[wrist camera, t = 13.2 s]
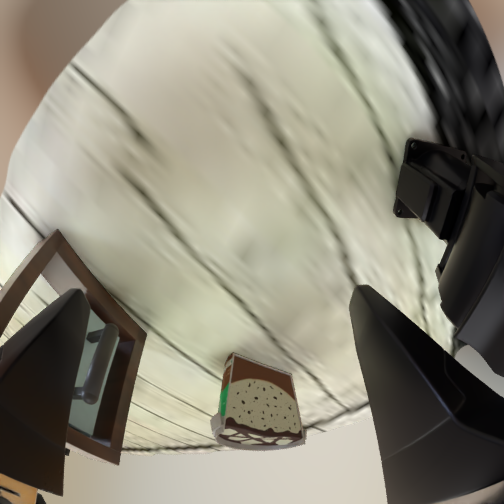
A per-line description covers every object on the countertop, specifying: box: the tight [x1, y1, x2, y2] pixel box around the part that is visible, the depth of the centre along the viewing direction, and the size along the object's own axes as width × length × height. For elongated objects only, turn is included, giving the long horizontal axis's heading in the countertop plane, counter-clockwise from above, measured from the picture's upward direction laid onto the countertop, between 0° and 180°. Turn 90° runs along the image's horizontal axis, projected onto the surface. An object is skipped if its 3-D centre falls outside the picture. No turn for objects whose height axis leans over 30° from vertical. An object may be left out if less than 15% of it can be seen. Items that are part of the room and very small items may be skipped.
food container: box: [210, 353, 307, 451], centre depth 29 cm, size 12×6×10 cm, turn 52°
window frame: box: [0, 229, 147, 465], centre depth 18 cm, size 15×4×15 cm, turn 22°
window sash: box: [69, 310, 120, 436], centre depth 18 cm, size 6×4×11 cm
